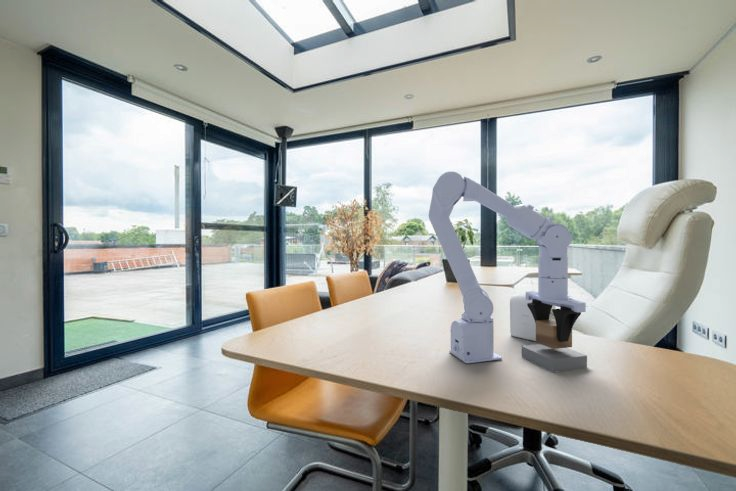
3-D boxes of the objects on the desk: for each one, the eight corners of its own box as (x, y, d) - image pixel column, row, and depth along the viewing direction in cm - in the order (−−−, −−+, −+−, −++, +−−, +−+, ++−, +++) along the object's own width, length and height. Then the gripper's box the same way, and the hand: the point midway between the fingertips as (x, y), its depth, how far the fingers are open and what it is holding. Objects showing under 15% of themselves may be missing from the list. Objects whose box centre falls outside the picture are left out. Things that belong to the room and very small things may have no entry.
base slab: (552, 374, 66) (552, 360, 65) (521, 358, 74) (521, 345, 74) (586, 369, 68) (586, 355, 68) (552, 354, 76) (552, 342, 76)
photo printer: (507, 336, 90) (507, 293, 90) (514, 333, 93) (514, 291, 92) (546, 345, 82) (546, 298, 82) (552, 341, 85) (552, 295, 84)
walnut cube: (552, 349, 68) (552, 326, 68) (535, 341, 73) (535, 320, 73) (572, 347, 69) (572, 324, 69) (553, 340, 74) (553, 318, 74)
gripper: (597, 280, 64) (597, 345, 65) (542, 273, 79) (542, 326, 79) (569, 282, 63) (569, 349, 63) (518, 274, 77) (518, 329, 77)
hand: (552, 337), depth 71 cm, fingers closed on walnut cube, 5 cm apart
